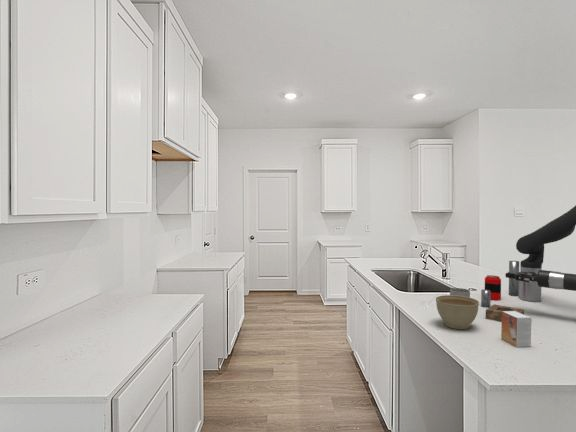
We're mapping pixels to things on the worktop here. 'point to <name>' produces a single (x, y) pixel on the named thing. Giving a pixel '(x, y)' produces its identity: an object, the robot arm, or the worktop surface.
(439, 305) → the planter bowl
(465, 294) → the cup
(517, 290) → the long steel pin
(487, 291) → the short steel pin
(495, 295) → the soda can
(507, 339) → the small box
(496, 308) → the walnut bored block
